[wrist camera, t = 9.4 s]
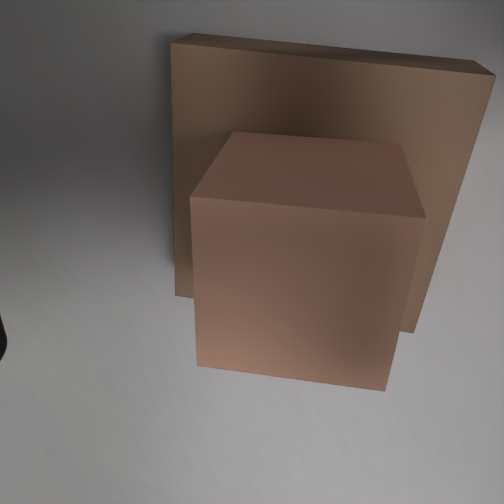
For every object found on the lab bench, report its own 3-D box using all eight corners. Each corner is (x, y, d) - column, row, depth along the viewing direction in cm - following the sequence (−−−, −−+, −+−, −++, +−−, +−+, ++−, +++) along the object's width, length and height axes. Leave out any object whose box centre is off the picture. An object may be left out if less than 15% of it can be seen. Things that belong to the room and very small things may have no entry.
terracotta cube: (400, 143, 14) (427, 218, 10) (373, 284, 17) (384, 391, 12) (233, 131, 15) (189, 196, 10) (232, 268, 17) (197, 365, 13)
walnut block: (470, 58, 15) (496, 76, 13) (404, 287, 20) (413, 333, 17) (197, 31, 16) (170, 43, 14) (195, 255, 21) (175, 295, 18)
